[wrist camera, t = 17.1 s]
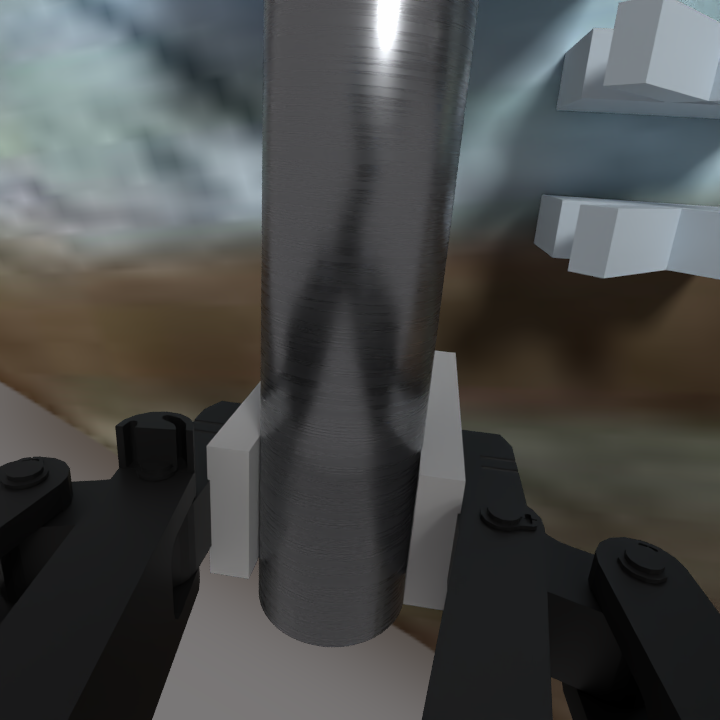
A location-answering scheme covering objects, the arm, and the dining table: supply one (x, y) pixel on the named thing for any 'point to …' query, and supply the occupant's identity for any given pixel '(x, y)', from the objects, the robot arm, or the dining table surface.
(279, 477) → the axle
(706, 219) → the v stand
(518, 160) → the dining table surface
